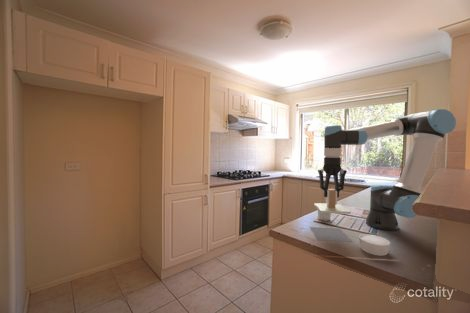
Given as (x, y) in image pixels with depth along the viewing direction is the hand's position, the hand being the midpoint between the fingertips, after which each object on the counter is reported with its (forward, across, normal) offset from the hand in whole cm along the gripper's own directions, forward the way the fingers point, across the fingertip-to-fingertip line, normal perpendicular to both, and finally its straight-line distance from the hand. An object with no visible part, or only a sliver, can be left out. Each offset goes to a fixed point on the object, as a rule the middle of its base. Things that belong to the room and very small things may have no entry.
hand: (331, 203), depth 105 cm
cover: (+3, 0, 0) cm, 3 cm away
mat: (+16, 0, 0) cm, 16 cm away
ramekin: (+17, -13, +15) cm, 26 cm away
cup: (+16, -4, -21) cm, 27 cm away
